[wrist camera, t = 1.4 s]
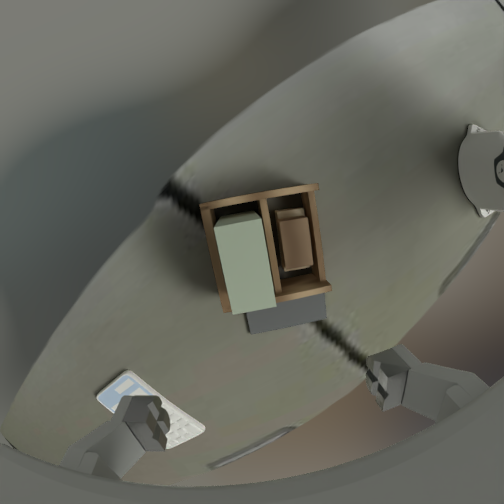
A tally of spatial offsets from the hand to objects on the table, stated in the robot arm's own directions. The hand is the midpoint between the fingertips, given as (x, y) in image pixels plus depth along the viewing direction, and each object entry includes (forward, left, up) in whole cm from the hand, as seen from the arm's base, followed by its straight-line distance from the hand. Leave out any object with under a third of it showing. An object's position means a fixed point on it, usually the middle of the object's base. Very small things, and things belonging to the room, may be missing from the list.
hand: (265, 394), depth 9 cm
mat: (-5, +10, -30) cm, 32 cm away
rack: (-3, 0, -30) cm, 30 cm away
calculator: (+25, +30, -30) cm, 49 cm away
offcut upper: (-6, 0, -27) cm, 28 cm away
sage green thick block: (0, 0, -30) cm, 30 cm away
